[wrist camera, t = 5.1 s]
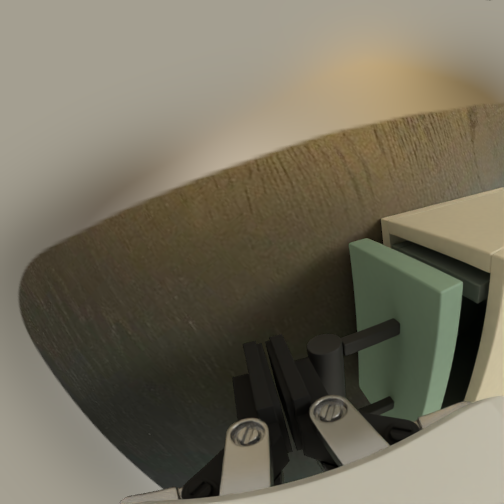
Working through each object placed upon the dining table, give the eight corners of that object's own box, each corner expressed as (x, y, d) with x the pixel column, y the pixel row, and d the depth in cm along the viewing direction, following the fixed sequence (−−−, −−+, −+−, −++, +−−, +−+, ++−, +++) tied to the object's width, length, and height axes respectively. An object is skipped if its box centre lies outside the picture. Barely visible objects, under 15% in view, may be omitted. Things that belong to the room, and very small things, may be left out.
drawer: (302, 406, 17) (337, 492, 10) (273, 262, 14) (325, 338, 7) (479, 324, 18) (536, 362, 11) (486, 202, 15) (564, 220, 8)
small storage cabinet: (385, 371, 19) (452, 452, 10) (380, 218, 16) (506, 259, 7) (495, 310, 19) (560, 350, 11) (501, 187, 16) (586, 203, 8)
